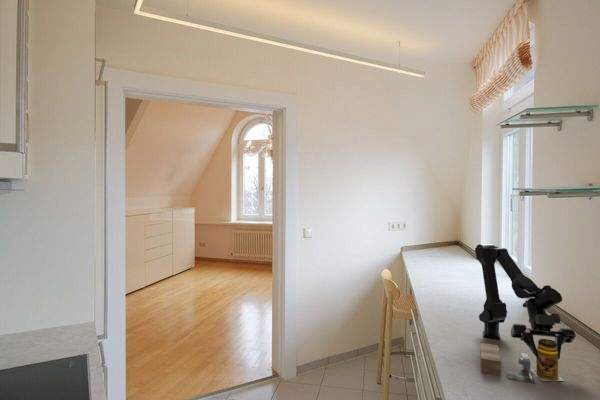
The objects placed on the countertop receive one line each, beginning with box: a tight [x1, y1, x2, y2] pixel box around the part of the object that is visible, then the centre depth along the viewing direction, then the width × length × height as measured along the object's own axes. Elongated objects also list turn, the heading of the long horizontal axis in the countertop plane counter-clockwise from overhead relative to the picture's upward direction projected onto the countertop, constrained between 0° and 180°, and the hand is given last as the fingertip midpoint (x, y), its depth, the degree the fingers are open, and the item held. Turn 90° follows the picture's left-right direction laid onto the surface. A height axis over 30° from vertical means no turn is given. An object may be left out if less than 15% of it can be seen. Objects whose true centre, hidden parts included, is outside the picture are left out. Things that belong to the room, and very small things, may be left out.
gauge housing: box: [479, 342, 537, 384], centre depth 131 cm, size 15×16×5 cm
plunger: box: [518, 352, 533, 380], centre depth 128 cm, size 11×3×4 cm, turn 156°
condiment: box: [530, 338, 565, 382], centre depth 127 cm, size 7×8×12 cm
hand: (547, 357), depth 125 cm, fingers closed on condiment, 6 cm apart
